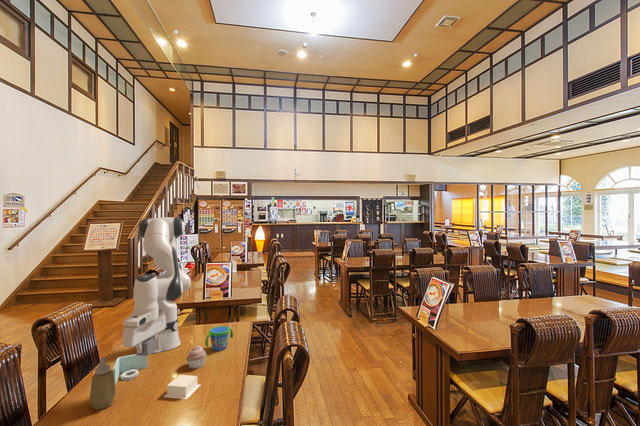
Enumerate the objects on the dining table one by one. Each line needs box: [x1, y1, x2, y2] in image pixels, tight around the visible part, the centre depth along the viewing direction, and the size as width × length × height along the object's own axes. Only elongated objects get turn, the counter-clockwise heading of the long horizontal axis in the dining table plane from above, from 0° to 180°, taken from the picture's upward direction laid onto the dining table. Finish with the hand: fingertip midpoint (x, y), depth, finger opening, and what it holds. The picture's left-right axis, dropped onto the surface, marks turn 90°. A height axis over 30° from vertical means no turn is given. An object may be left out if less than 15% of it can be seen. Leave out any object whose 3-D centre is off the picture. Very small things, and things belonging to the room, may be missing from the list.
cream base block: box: [166, 374, 198, 397], centre depth 121 cm, size 8×8×4 cm
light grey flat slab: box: [163, 383, 201, 400], centre depth 121 cm, size 18×14×1 cm
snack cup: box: [204, 325, 234, 352], centre depth 161 cm, size 16×10×10 cm
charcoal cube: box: [135, 338, 156, 356], centre depth 123 cm, size 5×5×5 cm
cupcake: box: [186, 345, 208, 370], centre depth 142 cm, size 9×9×10 cm
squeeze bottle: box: [89, 356, 117, 411], centre depth 113 cm, size 8×8×18 cm
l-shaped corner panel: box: [112, 354, 149, 386], centre depth 134 cm, size 12×12×8 cm
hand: (146, 348), depth 123 cm, fingers closed on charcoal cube, 5 cm apart
